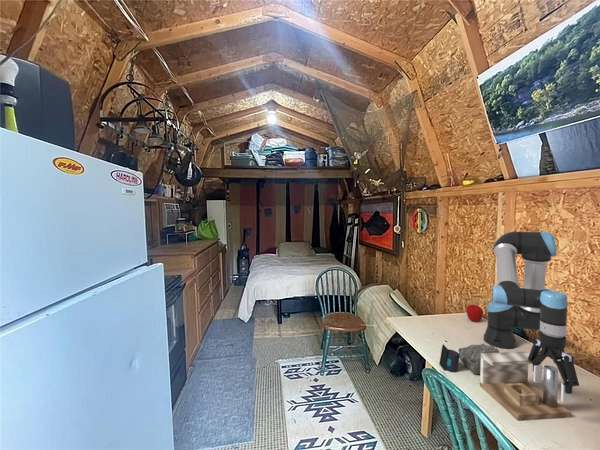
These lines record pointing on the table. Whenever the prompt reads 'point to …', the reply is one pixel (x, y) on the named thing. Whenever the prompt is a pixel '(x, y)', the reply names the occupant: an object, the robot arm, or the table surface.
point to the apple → (474, 313)
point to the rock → (475, 356)
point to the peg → (550, 386)
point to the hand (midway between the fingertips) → (550, 390)
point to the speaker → (449, 359)
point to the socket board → (515, 386)
